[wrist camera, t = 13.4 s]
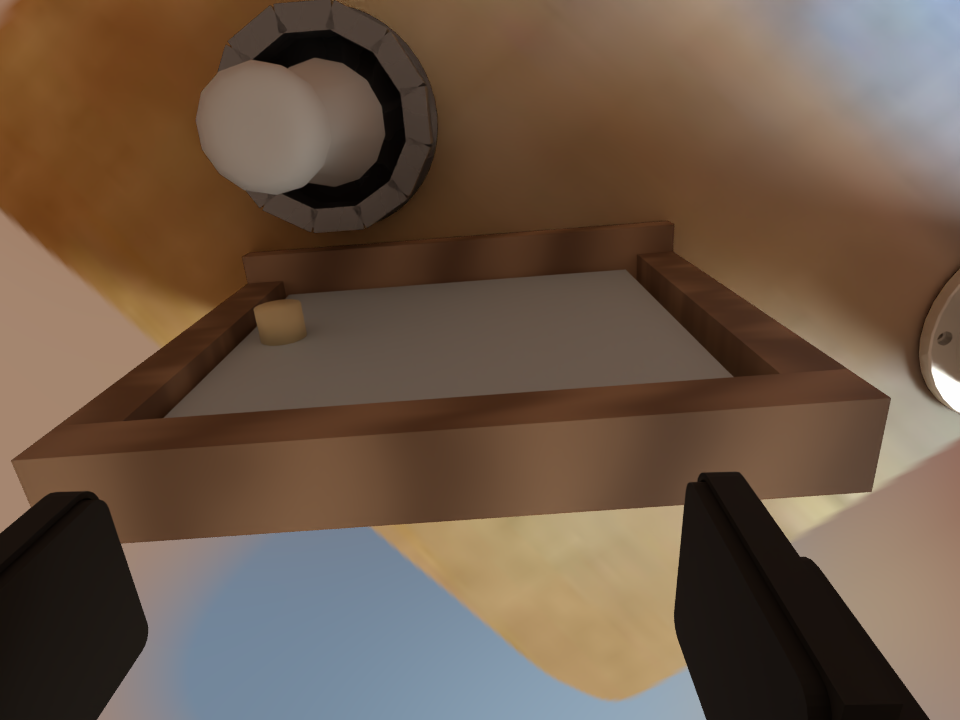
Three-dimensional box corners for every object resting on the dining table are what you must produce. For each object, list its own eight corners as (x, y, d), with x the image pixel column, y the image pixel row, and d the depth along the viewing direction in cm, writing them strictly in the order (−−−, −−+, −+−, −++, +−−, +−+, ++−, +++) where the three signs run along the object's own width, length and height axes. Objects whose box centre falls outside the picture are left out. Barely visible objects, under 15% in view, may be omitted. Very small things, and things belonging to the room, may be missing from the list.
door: (626, 242, 33) (752, 346, 18) (625, 295, 34) (743, 432, 19) (284, 268, 33) (132, 391, 18) (294, 319, 34) (160, 473, 20)
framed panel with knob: (667, 220, 34) (901, 345, 15) (663, 320, 36) (862, 534, 18) (249, 252, 34) (-10, 411, 16) (270, 349, 37) (66, 588, 18)
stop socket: (426, -5, 30) (421, -17, 27) (446, 219, 34) (444, 228, 31) (206, 13, 30) (180, 3, 27) (254, 234, 34) (235, 244, 31)
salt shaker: (257, 101, 31) (122, 91, 19) (349, 39, 30) (267, -12, 18) (323, 201, 33) (238, 251, 21) (411, 146, 32) (375, 166, 20)
